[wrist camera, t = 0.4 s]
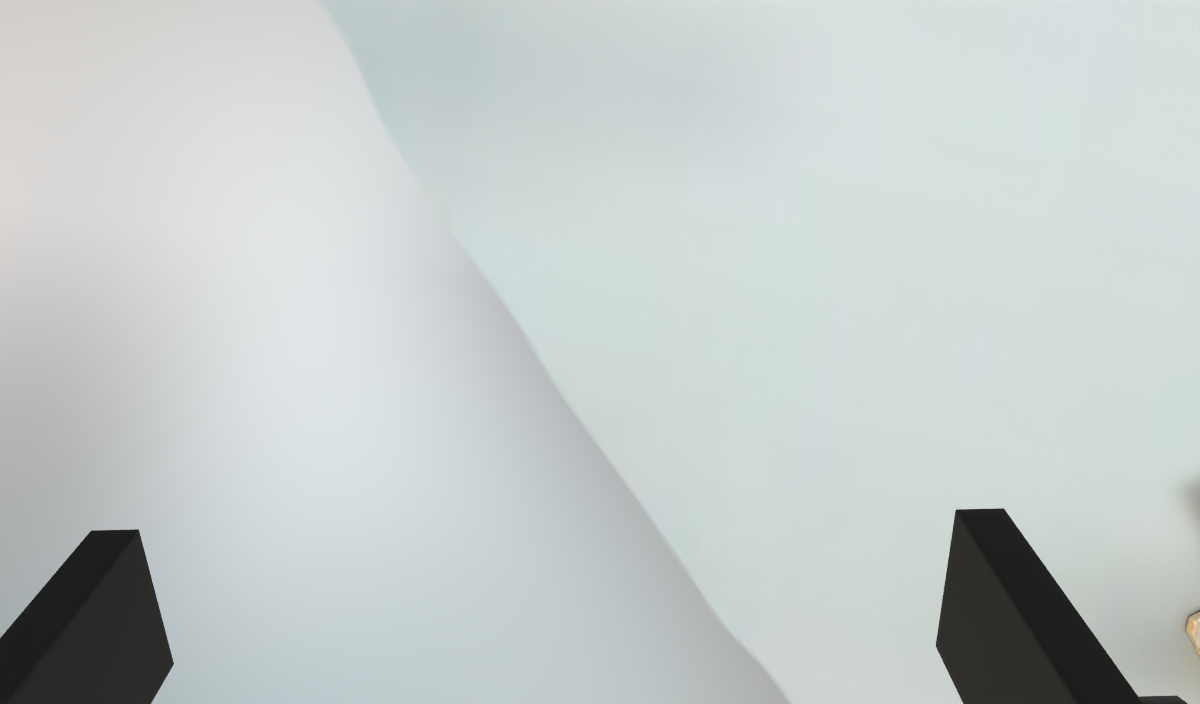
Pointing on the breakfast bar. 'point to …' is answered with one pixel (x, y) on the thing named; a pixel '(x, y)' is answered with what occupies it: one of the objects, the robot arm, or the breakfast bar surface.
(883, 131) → the breakfast bar surface
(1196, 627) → the wooden toy
